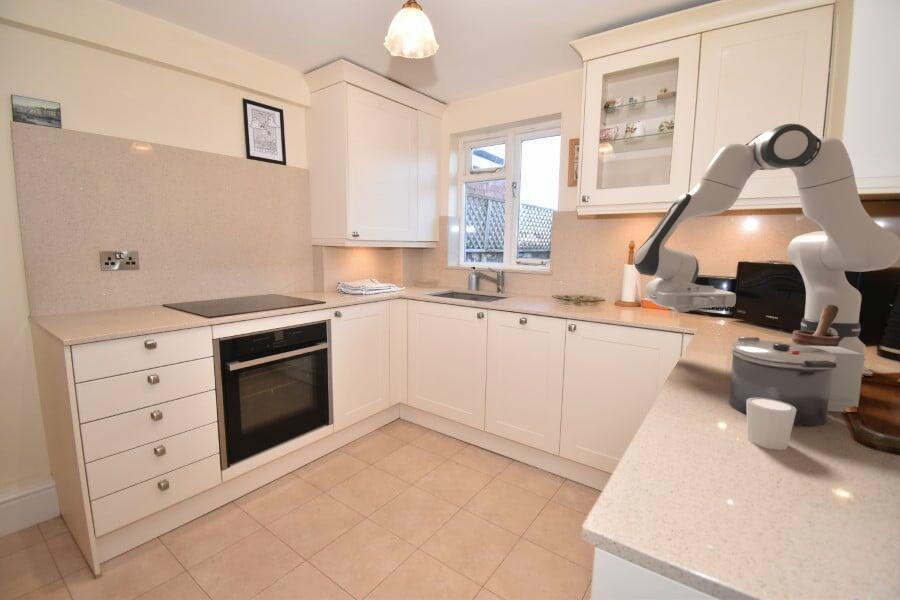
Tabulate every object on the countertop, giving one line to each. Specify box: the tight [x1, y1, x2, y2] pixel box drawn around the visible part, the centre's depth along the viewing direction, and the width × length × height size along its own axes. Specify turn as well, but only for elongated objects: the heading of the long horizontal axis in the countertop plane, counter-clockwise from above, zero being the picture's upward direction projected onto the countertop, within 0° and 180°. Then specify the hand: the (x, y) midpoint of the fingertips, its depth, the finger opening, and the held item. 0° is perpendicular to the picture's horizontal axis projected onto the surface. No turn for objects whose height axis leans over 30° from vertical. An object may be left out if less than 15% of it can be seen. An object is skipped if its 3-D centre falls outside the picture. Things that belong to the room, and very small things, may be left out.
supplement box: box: [808, 346, 865, 413], centre depth 87 cm, size 7×7×13 cm
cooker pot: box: [728, 349, 833, 428], centre depth 84 cm, size 17×17×12 cm
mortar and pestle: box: [791, 305, 839, 347], centre depth 101 cm, size 12×9×20 cm
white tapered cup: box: [746, 398, 796, 451], centre depth 70 cm, size 7×7×7 cm
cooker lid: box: [731, 336, 837, 368], centre depth 83 cm, size 20×17×2 cm
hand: (712, 302), depth 105 cm, fingers closed
